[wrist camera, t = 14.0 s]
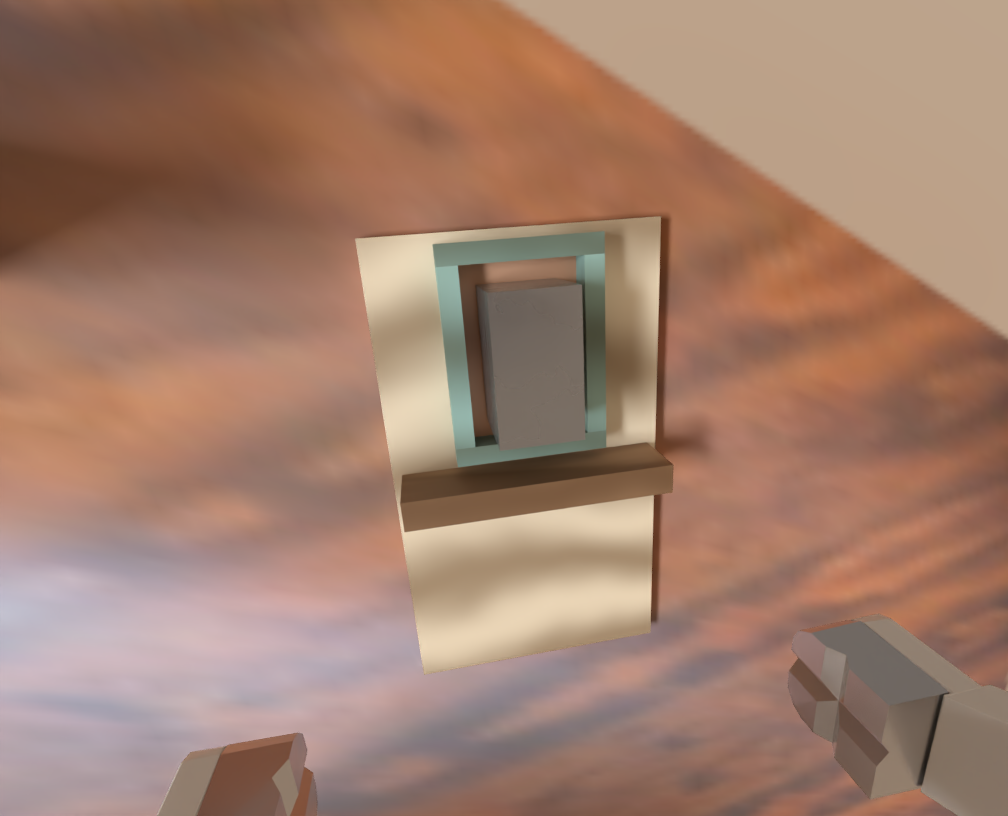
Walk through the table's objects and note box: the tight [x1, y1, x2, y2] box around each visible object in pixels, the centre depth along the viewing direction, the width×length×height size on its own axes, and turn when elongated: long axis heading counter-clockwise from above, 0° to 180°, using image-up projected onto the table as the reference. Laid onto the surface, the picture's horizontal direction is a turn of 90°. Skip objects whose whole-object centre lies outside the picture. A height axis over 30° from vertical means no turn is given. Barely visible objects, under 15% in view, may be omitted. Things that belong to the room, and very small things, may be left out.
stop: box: [475, 278, 585, 451], centre depth 24 cm, size 4×7×4 cm, turn 4°
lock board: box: [355, 216, 673, 675], centre depth 27 cm, size 26×15×4 cm, turn 4°
